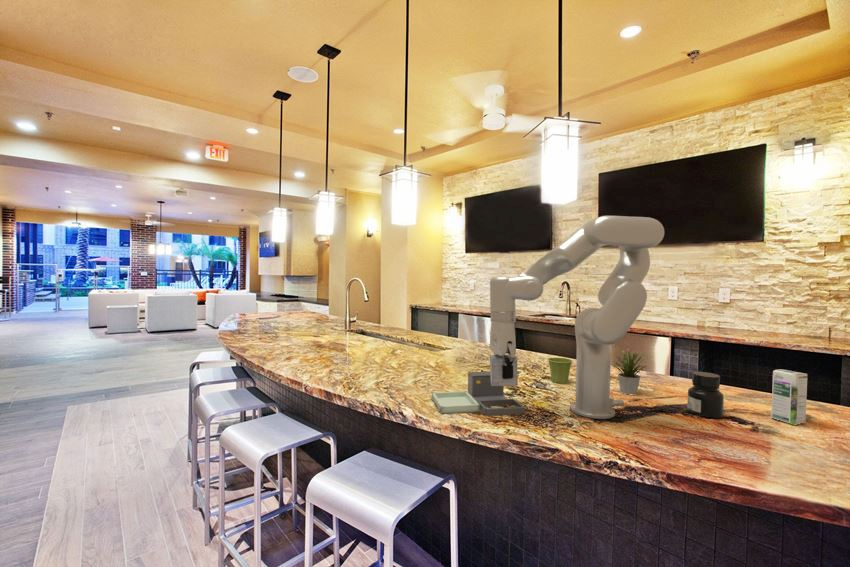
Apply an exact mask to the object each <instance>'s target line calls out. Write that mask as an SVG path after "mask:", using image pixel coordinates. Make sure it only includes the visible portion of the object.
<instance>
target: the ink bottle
mask: <svg viewBox="0 0 850 567" xmlns="http://www.w3.org/2000/svg"><path fill="white" fill-rule="evenodd" d="M691 384H692V386H691V387H690V388H688V390H687V404H686V405H687V407H686V408H687V412H689V411H690V412H689V413H691V414H693V413H694V414H693V415H695V414H696V416H699V415H700V417H703V416H705V417H704V418H709V417H713V419H719V417H721V418H723V417H724V401H725V400H724V399H725V398H724V397H725V396H724V394H723V393H722V392H721V391H720V390H719V389H720V386H721V375H719V374H716V373H712V372H708V371H707V372H705V371H693V372H692V375H691Z"/></svg>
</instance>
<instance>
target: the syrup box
mask: <svg viewBox="0 0 850 567" xmlns="http://www.w3.org/2000/svg"><path fill="white" fill-rule="evenodd" d="M771 391H772V393H771V394H772V395H771V396H772V397H771V412H770V419H771V418H774V419H777V420H776V421H778V420H781V421H784V422H787V423H786V424H788V423H790V424H789V425H791V424H794V425H793V426H796V425H795V424H799V423H803V424H805V423H806V420H807V419H806V417H807V396H808V394H807V393H808V392H807V391H808V373H803V372H797V371H792V370H789V369H788V370H787V369H781V368H780V369H775V370H773V371H772V390H771ZM774 419H773V420H774ZM781 421H780V422H781ZM784 422H783V423H784ZM804 422H805V423H804ZM799 425H800V424H799Z"/></svg>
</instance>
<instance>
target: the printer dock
mask: <svg viewBox="0 0 850 567" xmlns="http://www.w3.org/2000/svg"><path fill="white" fill-rule="evenodd" d="M504 387H505V386H492V385H491V381H490V371H468V372H467V392H468V393H469V394H470V395H471V396H472V397H473V398H474V399H475V400H476V401H477V402H478V404H479V405H480V412H482V413H483V415H486V416H487V417H489V416H504V415H505V416H506V415H522V414H523V415H524V414H525V413H526V412H525V411H526V409H525V408H526V406H525V405H523V403H521V402H520V401H518V400H517V399H515V398H507V396H505V395H504V390H505V388H504ZM499 406H512V407H499ZM488 407H492V408H488ZM495 407H496V408H495Z"/></svg>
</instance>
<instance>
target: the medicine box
mask: <svg viewBox="0 0 850 567" xmlns="http://www.w3.org/2000/svg"><path fill="white" fill-rule="evenodd" d="M507 358H509V357H506V360H507ZM502 365H503V358H502V356H499V355H495V354H490V355H489V367H490V368H489V372H490V381H491V385H492V386H504V387H518V385H519V384H518V383H519V382H518V357H516V355H515V359H514V362H513V378H512V379H503V378H502Z"/></svg>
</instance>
